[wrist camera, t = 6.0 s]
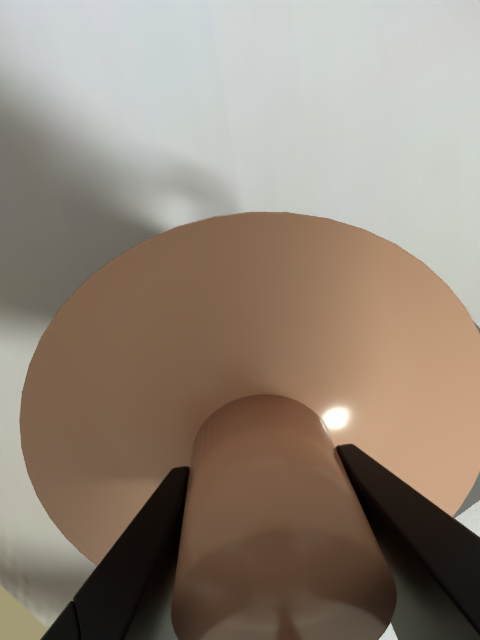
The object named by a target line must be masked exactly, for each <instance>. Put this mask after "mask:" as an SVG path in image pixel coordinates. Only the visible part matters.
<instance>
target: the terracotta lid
mask: <svg viewBox="0 0 480 640" xmlns="http://www.w3.org/2000/svg"><path fill="white" fill-rule="evenodd" d="M20 433H21V447H22V451H23V455H24V460H25V464H26V468H27V472H28V475H29V477H30V480H31V482H32V485H33V487H34V490H35V492H36V495H37V497H38V498H39V500H40V502H41V504H42V505H43V507H44V509H45V510H46V512H47V514H48V515H49V517H50V519H51V520H52V521H53V522H54V524H55V525H56V526H57V527H58V529H59V530H60V531H61V533H62V534H63V535H64V536H65V538H66V539H67V540H68V541H70V542H71V543H72V544H73V545H74V546H75V547H76V548H77V549H78V550H79V551H80V552H81V553H82V554H83V555H84V556H85V557H87V558H88V559H89V560H91V561H92V562H93V563H95V564H96V565H97V566H98V565H99V563H100V562H101V561H102V559H103V558H104V557H105V555H106V554H107V553H108V551H109V550H110V549H111V548H112V546H113V545H114V544H115V542H116V541H117V540H118V538H119V537H120V536H121V534H122V533H123V532H124V531H125V529H126V528H127V527H128V525H129V524H130V523H131V521H132V520H133V519H134V517H135V516H136V515H137V513H138V512H139V511H140V510H141V508H142V507H143V506H144V504H145V503H146V502H147V500H148V499H149V498H150V496H151V495H152V494H153V493H154V491H155V490H156V489H157V487H158V486H159V485H160V483H161V482H162V481H163V479H164V478H165V477H166V476H167V474H168V473H169V472H170V470H171V469H172V468H175V467H181V466H188V467H189V468H190V471H189V478H188V486H187V493H186V501H185V508H184V516H183V523H182V531H181V538H180V545H179V553H178V560H177V568H176V575H175V583H174V590H173V597H172V605H171V621H172V625H173V629H174V632H175V634H176V636H177V638H178V640H378V639H379V638H380V637H381V636H382V635H383V633H384V632H385V631H386V629H387V627H388V626H389V624H390V622H391V620H392V617H393V615H394V612H395V608H396V602H397V591H396V585H395V582H394V579H393V576H392V574H391V571H390V569H389V567H388V565H387V562H386V560H385V558H384V556H383V553H382V551H381V549H380V547H379V544H378V542H377V540H376V538H375V535H374V533H373V531H372V529H371V526H370V524H369V522H368V520H367V518H366V515H365V513H364V511H363V509H362V506H361V504H360V502H359V500H358V497H357V495H356V493H355V491H354V488H353V486H352V484H351V482H350V479H349V477H348V475H347V473H346V470H345V468H344V466H343V464H342V462H341V459H340V457H339V455H338V453H337V450H336V446H337V445H342V444H349V443H351V444H354V445H355V446H357V447H358V448H359V449H361V450H362V451H363V452H365V453H366V454H368V455H369V456H370V457H372V458H373V459H374V460H376V461H377V462H378V463H380V464H381V465H382V466H384V467H385V468H387V469H388V470H389V471H391V472H392V473H393V474H395V475H396V476H397V477H399V478H400V479H401V480H403V481H404V482H405V483H407V484H408V485H410V486H411V487H412V488H414V489H415V490H416V491H418V492H419V493H420V494H422V495H423V496H424V497H426V498H427V499H429V500H430V501H431V502H433V503H434V504H435V505H437V506H438V507H439V508H441V509H442V510H443V511H445V512H446V513H447V514H449V515H450V516H452V517H453V515H454V514H455V513H456V512H457V510H458V509H459V508H460V507H461V505H462V503H463V502H464V500H465V498H466V497H467V495H468V494H469V492H470V490H471V489H472V487H473V485H474V483H475V481H476V479H477V476H478V474H479V472H480V333H479V331H478V329H477V327H476V326H475V324H474V322H473V320H472V318H471V316H470V315H469V313H468V311H467V309H466V308H465V306H464V305H463V304H462V303H461V301H460V300H459V299H458V298H457V296H456V295H455V294H454V292H453V291H452V290H451V289H450V287H449V286H448V285H447V284H446V283H445V282H444V281H443V280H442V279H441V278H440V277H439V276H437V275H436V274H435V273H434V272H433V271H432V270H431V269H430V268H429V267H428V266H427V265H426V264H424V263H423V262H422V261H420V260H419V259H417V258H416V257H414V256H413V255H411V254H410V253H408V252H407V251H405V250H404V249H402V248H401V247H399V246H398V245H396V244H394V243H392V242H390V241H388V240H386V239H384V238H382V237H379V236H377V235H375V234H373V233H371V232H369V231H367V230H364V229H362V228H358V227H355V226H352V225H348V224H345V223H342V222H338V221H335V220H331V219H328V218H322V217H315V216H309V215H302V214H295V213H288V212H244V213H236V214H228V215H221V216H213V217H210V218H206V219H202V220H199V221H195V222H191V223H188V224H184V225H180V226H178V227H175V228H173V229H171V230H168V231H166V232H164V233H161V234H159V235H157V236H154V237H152V238H150V239H147V240H145V241H143V242H141V243H139V244H138V245H136V246H134V247H133V248H131V249H129V250H128V251H126V252H124V253H123V254H121V255H119V256H118V257H116V258H114V259H113V260H111V261H110V262H108V263H107V264H106V265H105V266H103V267H102V268H101V269H100V270H99V271H97V272H96V273H95V274H94V275H92V276H91V277H90V278H89V279H88V280H86V281H85V282H84V283H83V284H82V285H81V286H80V287H79V288H78V289H77V290H76V291H75V292H74V294H73V295H72V296H71V297H70V298H69V299H68V300H67V301H66V302H65V304H64V305H63V306H62V307H61V308H60V309H59V311H58V312H57V314H56V315H55V317H54V318H53V320H52V321H51V323H50V324H49V326H48V328H47V329H46V331H45V332H44V334H43V335H42V337H41V339H40V341H39V344H38V346H37V348H36V350H35V353H34V355H33V357H32V360H31V362H30V364H29V368H28V372H27V375H26V379H25V383H24V387H23V391H22V399H21V410H20Z"/></svg>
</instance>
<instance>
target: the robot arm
mask: <svg viewBox="0 0 480 640" xmlns="http://www.w3.org/2000/svg"><path fill="white" fill-rule="evenodd" d="M336 450H337V453H338V455H339V457H340V459H341V462H342V464H343V466H344V468H345V470H346V473H347V475H348V477H349V479H350V482H351V484H352V486H353V488H354V491H355V493H356V495H357V497H358V500H359V502H360V504H361V506H362V509H363V511H364V513H365V515H366V518H367V520H368V522H369V524H370V526H371V529H372V531H373V533H374V535H375V538H376V540H377V542H378V544H379V547H380V549H381V551H382V553H383V556H384V558H385V560H386V562H387V565H388V567H389V569H390V571H391V574H392V576H393V579H394V582H395V585H396V591H397V602H396V608H395V612H394V615H393V617H392V620H391V624H392V626H393V629H394V631H395V633H396V636H397V638H398V640H480V537H479V536H477V535H476V534H475V533H473V532H472V531H471V530H469V529H468V528H466V527H465V526H464V525H462V524H461V523H460V522H458V521H457V520H456V519H454V518H453V517H452V516H450V515H449V514H447V513H446V512H445V511H443V510H442V509H441V508H439V507H438V506H437V505H435V504H434V503H433V502H431V501H430V500H429V499H427V498H426V497H424V496H423V495H422V494H420V493H419V492H418V491H416V490H415V489H414V488H412V487H411V486H410V485H408V484H407V483H405V482H404V481H403V480H401V479H400V478H399V477H397V476H396V475H395V474H393V473H392V472H391V471H389V470H388V469H387V468H385V467H384V466H382V465H381V464H380V463H378V462H377V461H376V460H374V459H373V458H372V457H370V456H369V455H368V454H366V453H365V452H363V451H362V450H361V449H359V448H358V447H357V446H355V445H354V444H351V443H349V444H342V445H337V446H336ZM189 471H190V468H189V467H188V466H181V467H175V468H172V469H171V470H170V472H169V473H168V474H167V476H166V477H165V478H164V479H163V481H162V482H161V483H160V485H159V486H158V487H157V489H156V490H155V491H154V493H153V494H152V495H151V496H150V498H149V499H148V500H147V502H146V503H145V504H144V506H143V507H142V508H141V510H140V511H139V512H138V513H137V515H136V516H135V517H134V519H133V520H132V521H131V523H130V524H129V525H128V527H127V528H126V529H125V531H124V532H123V533H122V534H121V536H120V537H119V538H118V540H117V541H116V542H115V544H114V545H113V546H112V548H111V549H110V550H109V551H108V553H107V554H106V555H105V557H104V558H103V559H102V561H101V562H100V563H99V565H98V566H97V567H96V568H95V570H94V571H93V572H92V574H91V575H90V576H89V578H88V579H87V580H86V582H85V583H84V584H83V585H82V587H81V588H80V589H79V591H78V592H77V593H76V595H75V596H74V598H73V600H74V602H73V601H70V602H69V604H68V605H67V606H66V607H65V609H64V610H63V611H62V613H61V614H60V615H59V617H58V618H57V619H56V621H55V622H54V623H53V624H52V626H51V627H50V628H49V629H48V631H47V632H46V633H45V634H44V636H43V637H42V638H41V640H178V638H177V636H176V634H175V632H174V629H173V625H172V621H171V605H172V597H173V590H174V583H175V575H176V568H177V560H178V553H179V545H180V538H181V531H182V523H183V516H184V508H185V501H186V493H187V486H188V478H189Z"/></svg>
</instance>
